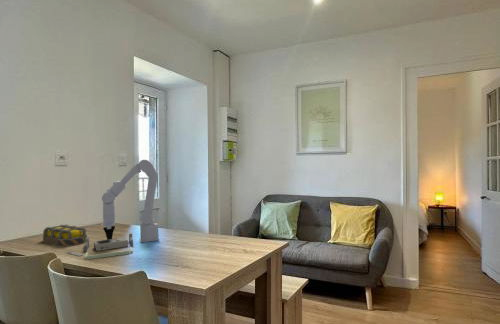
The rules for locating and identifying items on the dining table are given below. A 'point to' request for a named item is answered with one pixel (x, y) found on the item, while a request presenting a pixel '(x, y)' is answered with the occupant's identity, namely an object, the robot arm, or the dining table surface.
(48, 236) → the cage light
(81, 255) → the stay bar
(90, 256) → the bay
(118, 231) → the dining table surface
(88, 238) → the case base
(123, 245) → the handheld gaming device
